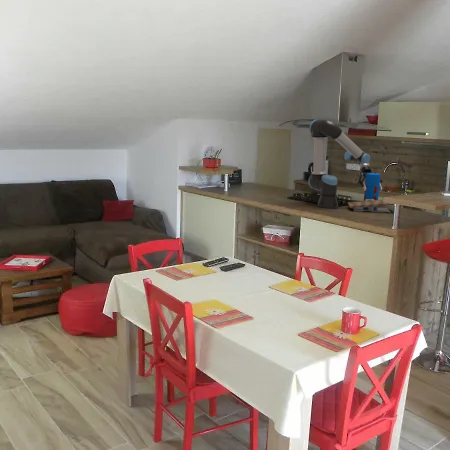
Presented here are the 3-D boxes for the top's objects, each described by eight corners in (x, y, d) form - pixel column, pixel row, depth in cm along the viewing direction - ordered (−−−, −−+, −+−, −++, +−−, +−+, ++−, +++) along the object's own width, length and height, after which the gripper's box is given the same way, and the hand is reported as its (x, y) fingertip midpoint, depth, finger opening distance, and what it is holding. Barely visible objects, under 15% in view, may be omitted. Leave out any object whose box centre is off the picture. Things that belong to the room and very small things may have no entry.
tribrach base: (354, 211, 370) (354, 205, 369) (351, 207, 384) (351, 202, 383) (390, 212, 368) (391, 207, 367) (386, 209, 381) (387, 204, 380)
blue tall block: (367, 207, 387) (370, 174, 382) (360, 204, 397) (363, 173, 392) (380, 207, 390) (383, 174, 385) (372, 204, 400) (375, 173, 395)
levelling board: (350, 208, 369) (350, 203, 368) (347, 204, 385) (347, 200, 384) (395, 205, 365) (395, 200, 364) (391, 201, 381) (391, 196, 380)
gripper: (377, 171, 406) (385, 192, 395) (349, 171, 400) (356, 193, 389) (381, 165, 400) (390, 187, 389) (352, 165, 394) (360, 187, 383)
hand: (373, 190), depth 389 cm, fingers open, 13 cm apart
